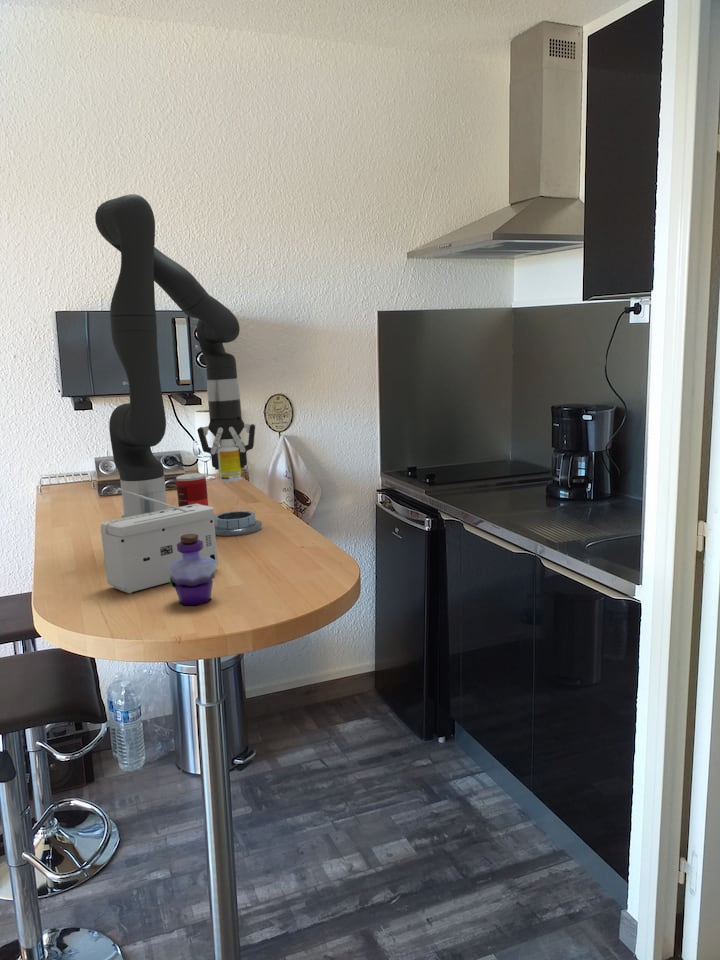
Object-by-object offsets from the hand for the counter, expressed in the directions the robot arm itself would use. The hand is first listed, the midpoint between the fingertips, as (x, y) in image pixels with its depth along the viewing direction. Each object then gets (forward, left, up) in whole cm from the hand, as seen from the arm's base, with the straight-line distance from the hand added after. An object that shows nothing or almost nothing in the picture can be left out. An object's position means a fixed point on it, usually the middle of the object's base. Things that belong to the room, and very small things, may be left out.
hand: (230, 468), depth 182 cm
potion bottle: (-47, -24, -16) cm, 55 cm away
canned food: (+11, +21, -16) cm, 28 cm away
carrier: (0, 0, -15) cm, 15 cm away
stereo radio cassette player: (-38, -10, -16) cm, 42 cm away
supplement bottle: (0, 0, -3) cm, 3 cm away
